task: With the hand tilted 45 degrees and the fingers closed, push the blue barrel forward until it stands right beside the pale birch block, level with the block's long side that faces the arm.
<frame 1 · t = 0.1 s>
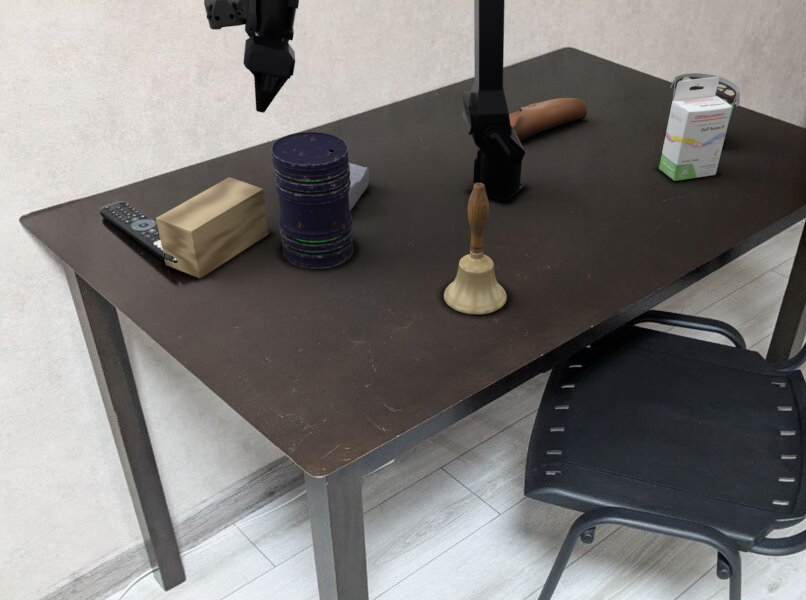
hand: (260, 98, 126), 15 cm above the table, tool pointing down, fingers open, 9 cm apart
blue barrel: (318, 251, 127), on the table
ink box: (687, 173, 151), on the table
birch block: (218, 249, 125), on the table
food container: (700, 137, 162), on the table
stone block: (328, 198, 138), on the table
sunglasses case: (535, 127, 162), on the table
hand bell: (475, 298, 120), on the table
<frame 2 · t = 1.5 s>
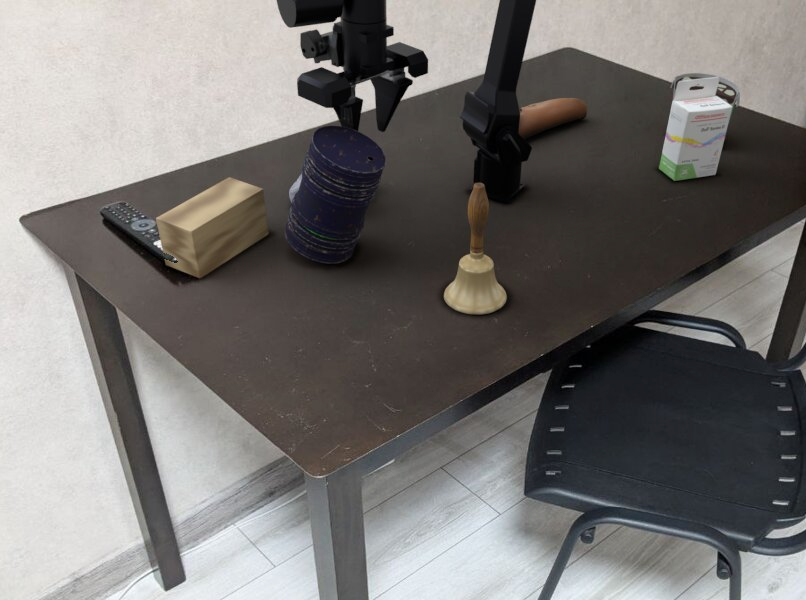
hand: (366, 136, 124), 13 cm above the table, tool pointing down, fingers open, 5 cm apart
blue barrel: (319, 241, 126), point 1 cm above the table
everything else where it was.
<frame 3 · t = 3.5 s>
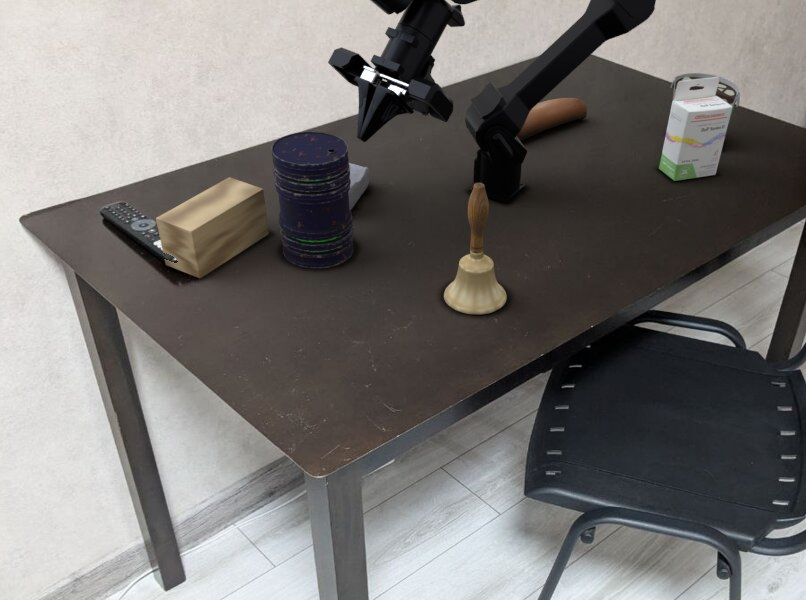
hand: (360, 140, 123), 13 cm above the table, tool tilted 45°, fingers closed
blue barrel: (318, 251, 127), on the table
everything else where it was.
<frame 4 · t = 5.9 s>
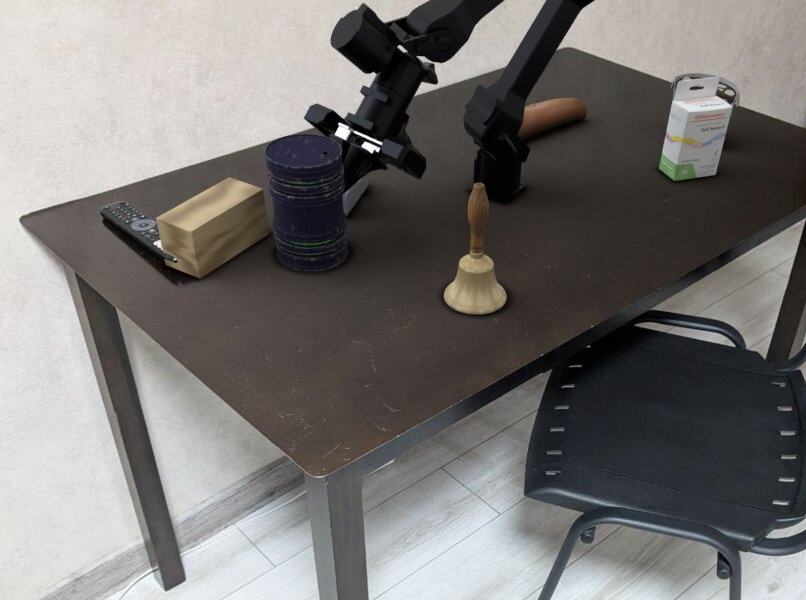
hand: (335, 195, 124), 7 cm above the table, tool tilted 45°, fingers closed, pressing on blue barrel
blue barrel: (312, 253, 126), on the table, touching gripper
everything else where it was.
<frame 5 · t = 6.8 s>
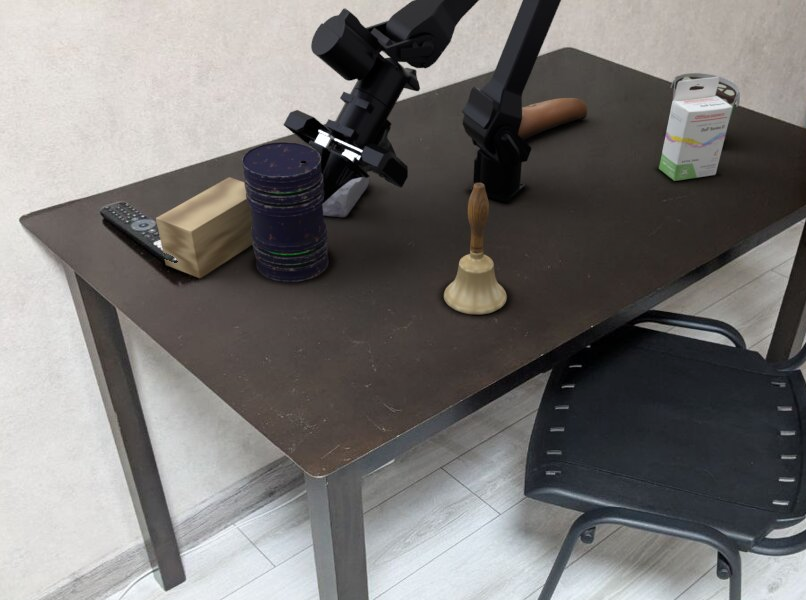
hand: (315, 204, 122), 7 cm above the table, tool tilted 45°, fingers closed, pressing on blue barrel
blue barrel: (292, 263, 124), on the table, touching gripper
everything else where it was.
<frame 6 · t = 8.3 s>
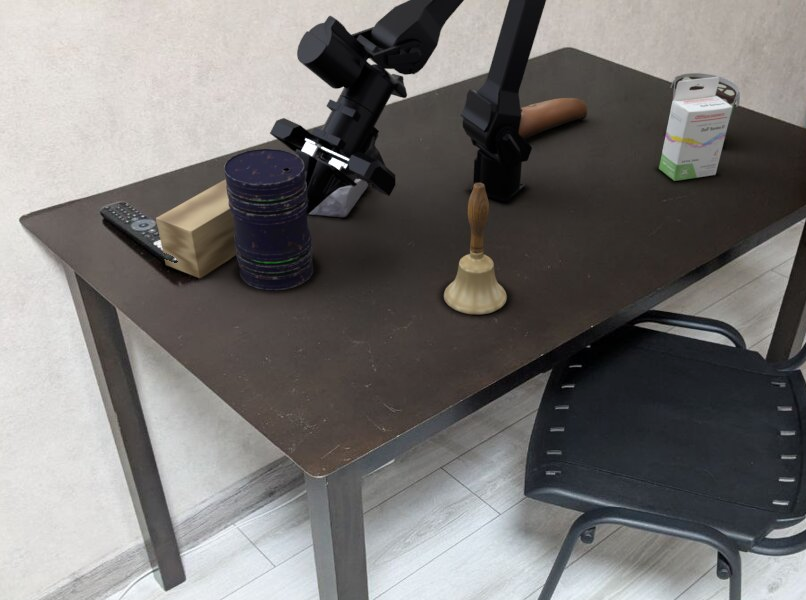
hand: (302, 213, 121), 7 cm above the table, tool tilted 45°, fingers closed
blue barrel: (277, 271, 122), on the table
everything else where it was.
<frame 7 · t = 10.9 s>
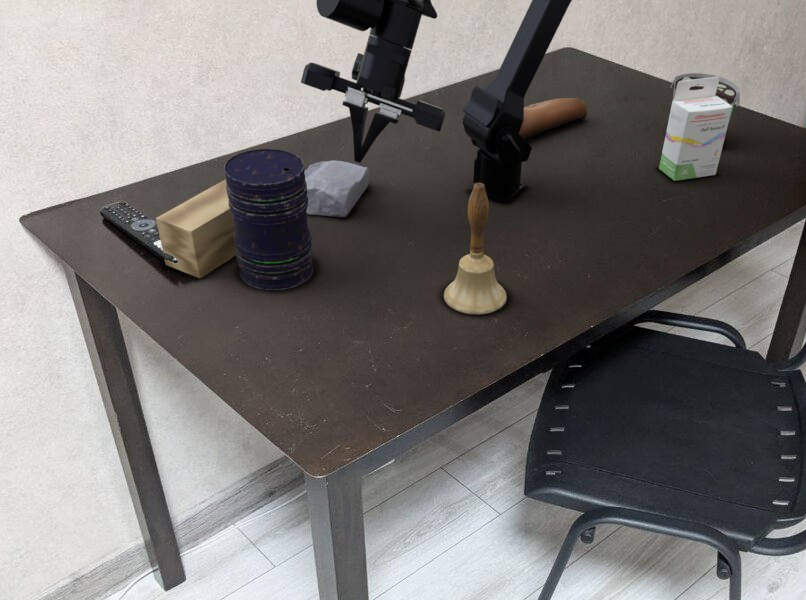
hand: (357, 161, 123), 11 cm above the table, tool tilted 25°, fingers closed
nothing on the table moved.
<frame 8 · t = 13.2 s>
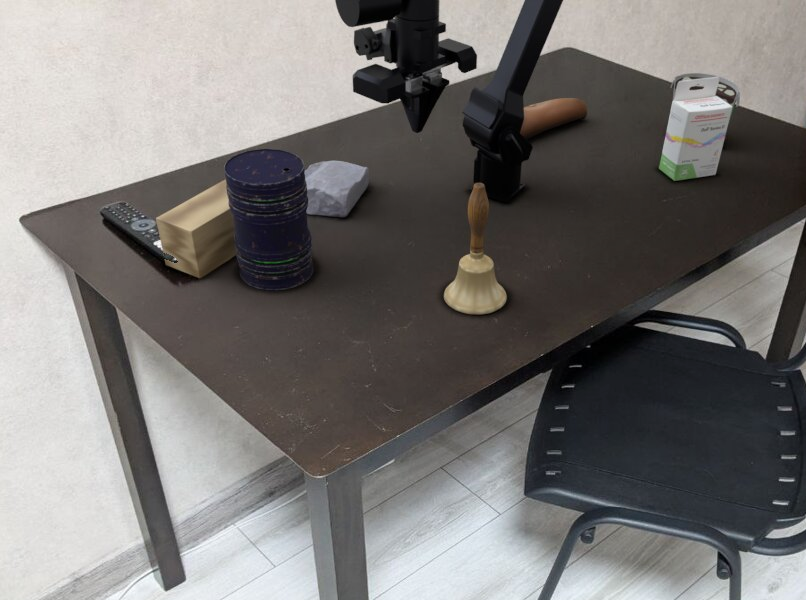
hand: (416, 131, 127), 13 cm above the table, tool pointing down, fingers closed
nothing on the table moved.
at the end: blue barrel inside the target area on the table beside the birch block (0.8 cm from its centre), on the table; blue barrel tilted 0°; birch block moved 0.0 cm from its start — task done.
